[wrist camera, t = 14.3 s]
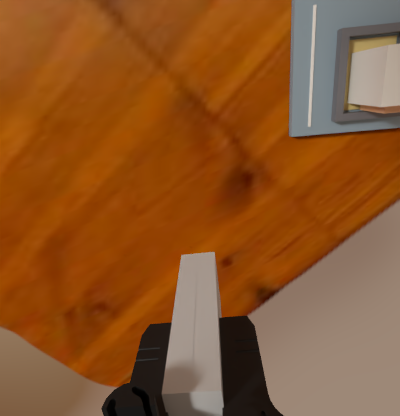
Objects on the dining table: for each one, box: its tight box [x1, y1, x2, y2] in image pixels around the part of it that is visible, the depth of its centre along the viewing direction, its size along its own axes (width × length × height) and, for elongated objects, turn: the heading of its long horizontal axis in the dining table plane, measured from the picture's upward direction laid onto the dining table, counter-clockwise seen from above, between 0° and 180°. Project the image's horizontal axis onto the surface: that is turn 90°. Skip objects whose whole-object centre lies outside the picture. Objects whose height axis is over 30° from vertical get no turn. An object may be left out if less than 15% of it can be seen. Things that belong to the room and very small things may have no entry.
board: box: [289, 0, 400, 137], centre depth 32 cm, size 14×13×2 cm
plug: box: [347, 44, 400, 114], centre depth 29 cm, size 6×4×7 cm
